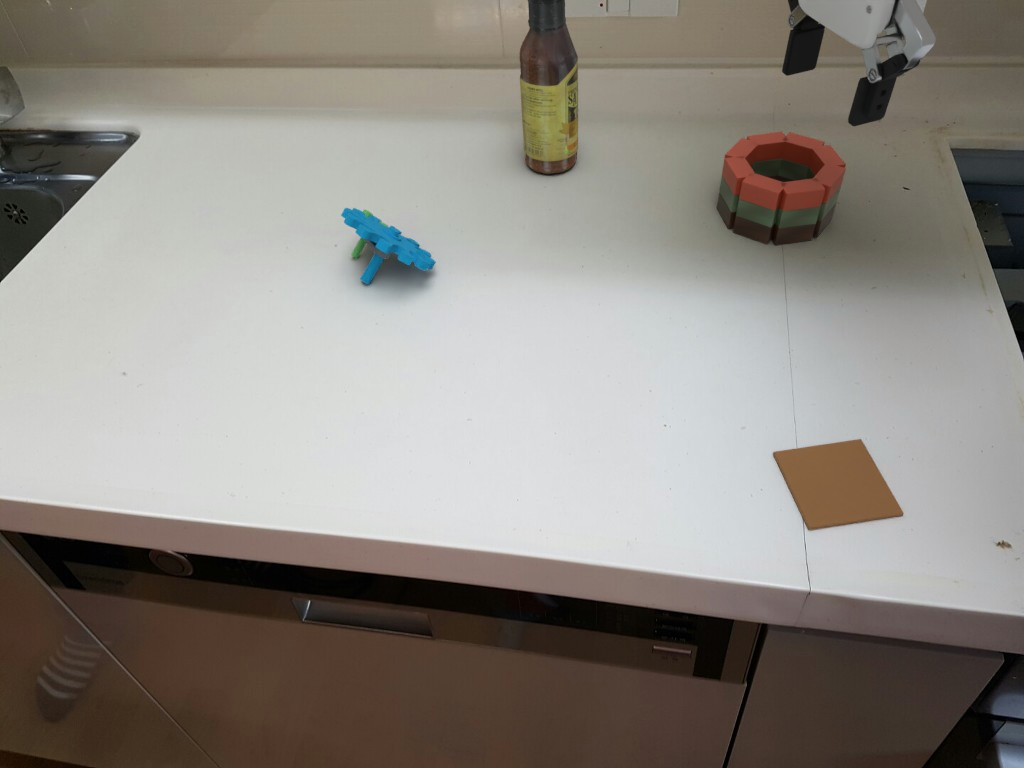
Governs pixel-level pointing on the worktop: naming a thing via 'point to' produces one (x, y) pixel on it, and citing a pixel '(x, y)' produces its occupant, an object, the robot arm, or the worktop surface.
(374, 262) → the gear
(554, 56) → the sauce bottle
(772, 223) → the ring stack
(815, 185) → the terracotta ring
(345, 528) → the worktop surface
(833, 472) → the cork mat
